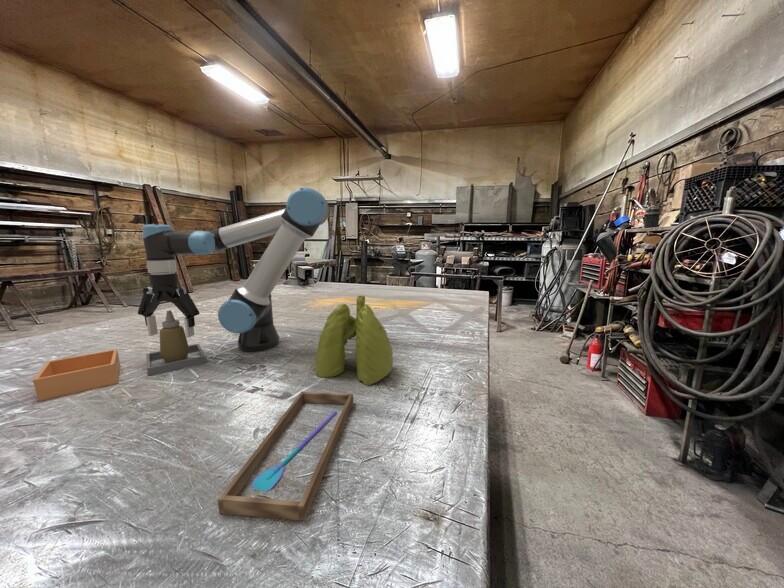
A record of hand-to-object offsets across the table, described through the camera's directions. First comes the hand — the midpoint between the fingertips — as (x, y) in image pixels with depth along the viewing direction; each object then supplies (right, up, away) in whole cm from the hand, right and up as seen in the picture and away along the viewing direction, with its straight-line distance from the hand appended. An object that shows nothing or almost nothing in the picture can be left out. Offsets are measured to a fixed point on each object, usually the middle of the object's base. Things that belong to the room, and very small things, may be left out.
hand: (171, 335), depth 102 cm
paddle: (+56, -17, -40) cm, 71 cm away
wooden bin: (-17, -12, -12) cm, 24 cm away
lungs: (+63, -11, -7) cm, 64 cm away
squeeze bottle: (0, -9, +2) cm, 10 cm away
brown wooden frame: (+56, -17, -40) cm, 71 cm away
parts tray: (0, -9, +2) cm, 9 cm away
